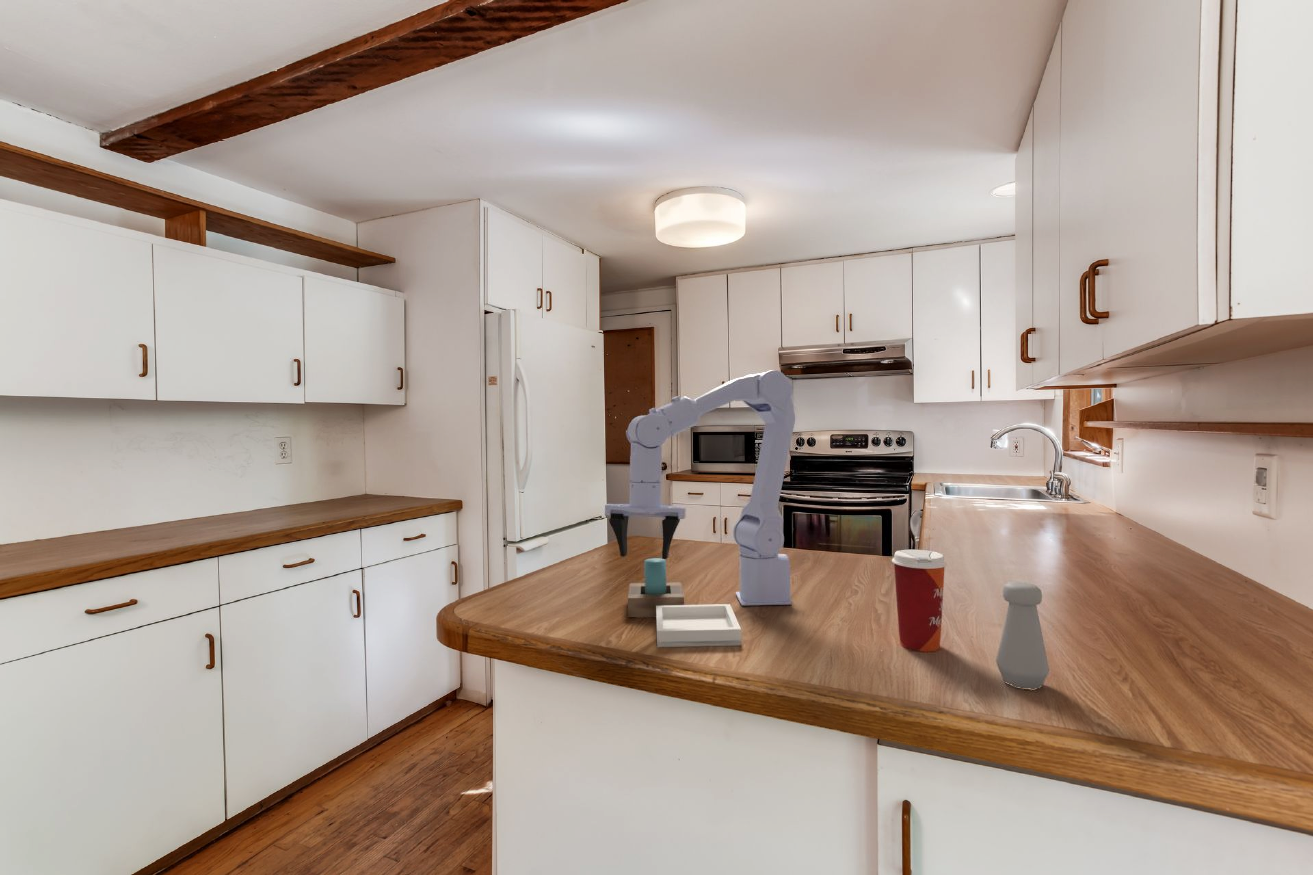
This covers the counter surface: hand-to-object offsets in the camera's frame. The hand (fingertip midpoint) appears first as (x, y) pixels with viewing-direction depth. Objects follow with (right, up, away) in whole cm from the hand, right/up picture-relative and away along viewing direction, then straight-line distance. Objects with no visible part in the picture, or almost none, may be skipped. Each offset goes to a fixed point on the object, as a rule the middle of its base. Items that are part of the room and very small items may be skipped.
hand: (644, 556), depth 108 cm
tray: (+9, -11, -9) cm, 17 cm away
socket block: (+2, -10, +4) cm, 11 cm away
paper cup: (+42, -10, -17) cm, 47 cm away
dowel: (+2, -10, +4) cm, 11 cm away
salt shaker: (+50, -10, -31) cm, 59 cm away
